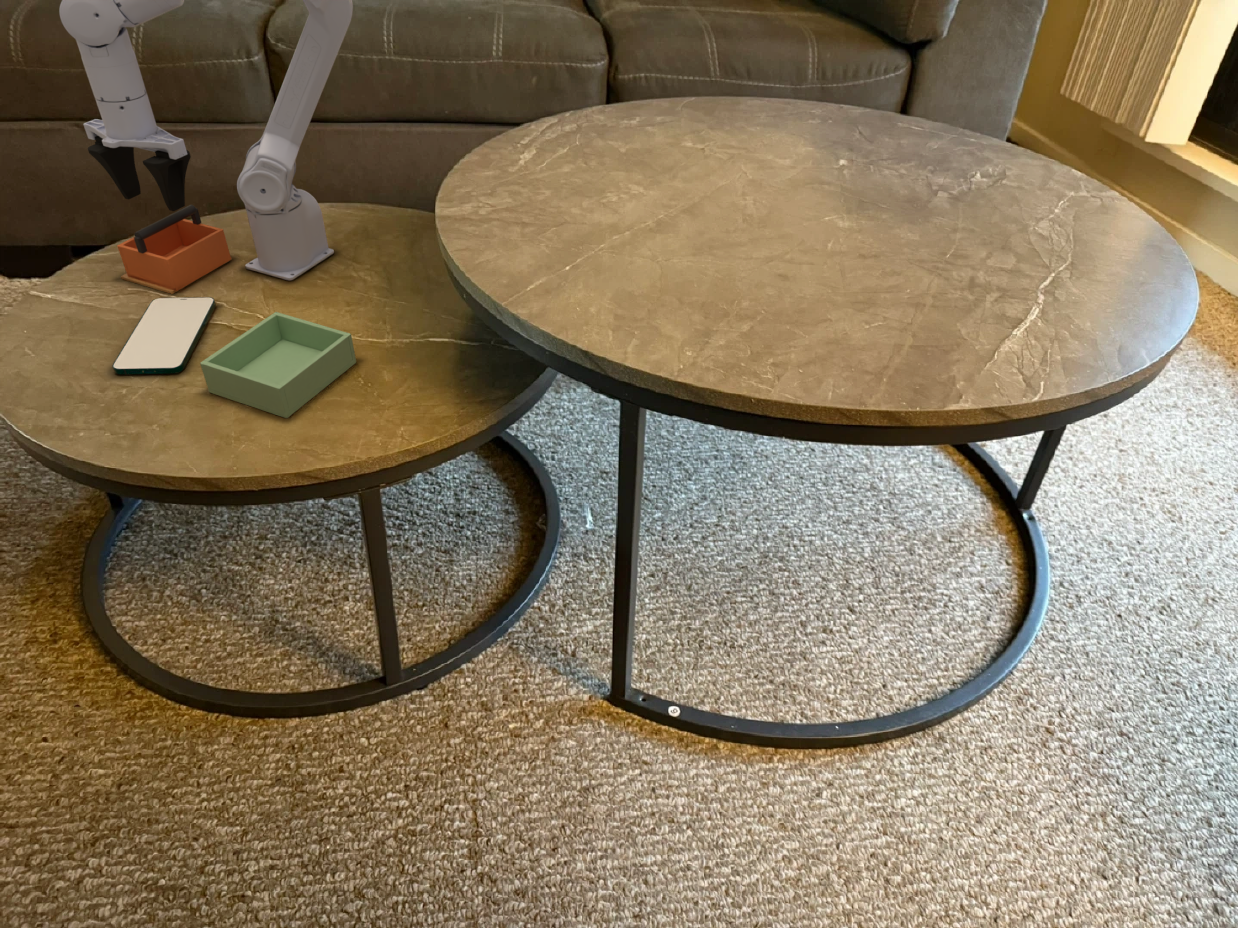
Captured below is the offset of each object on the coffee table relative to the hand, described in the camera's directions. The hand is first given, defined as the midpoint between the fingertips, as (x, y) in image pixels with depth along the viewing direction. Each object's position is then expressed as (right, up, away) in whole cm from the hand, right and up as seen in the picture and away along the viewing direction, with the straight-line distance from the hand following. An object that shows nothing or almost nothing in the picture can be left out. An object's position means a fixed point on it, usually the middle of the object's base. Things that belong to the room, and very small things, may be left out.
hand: (154, 202), depth 118 cm
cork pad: (0, -7, +6) cm, 10 cm away
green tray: (+21, -24, -13) cm, 34 cm away
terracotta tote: (+1, -7, +6) cm, 9 cm away
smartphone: (+5, -19, -7) cm, 21 cm away
